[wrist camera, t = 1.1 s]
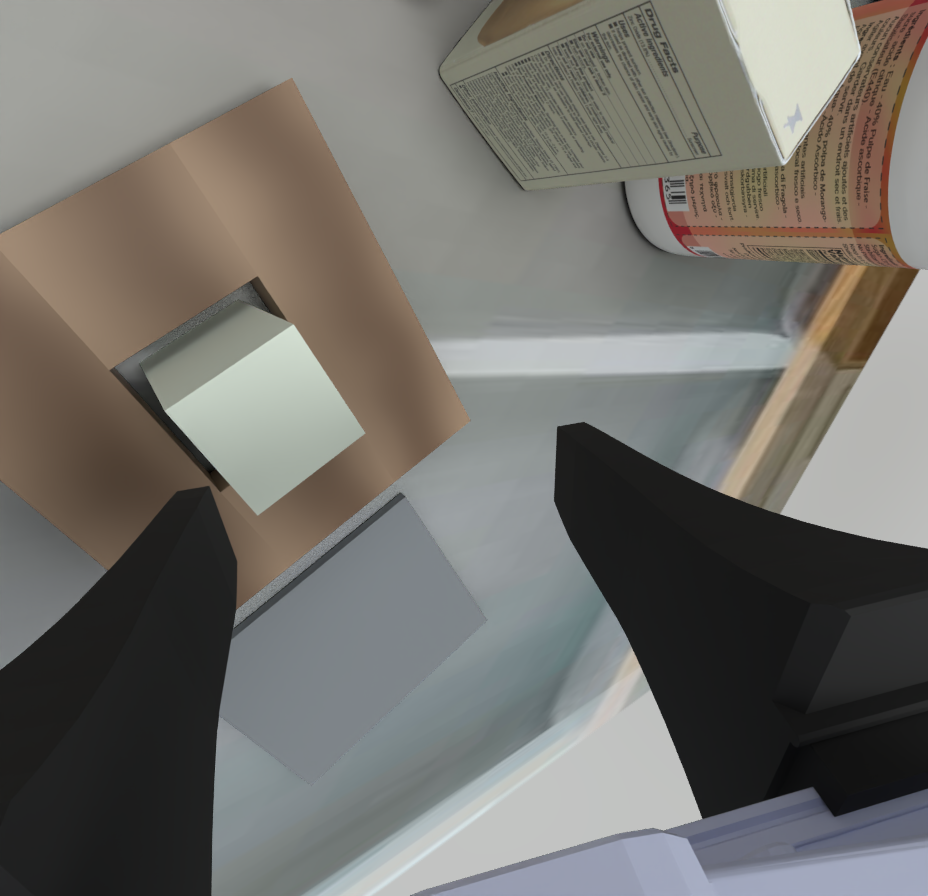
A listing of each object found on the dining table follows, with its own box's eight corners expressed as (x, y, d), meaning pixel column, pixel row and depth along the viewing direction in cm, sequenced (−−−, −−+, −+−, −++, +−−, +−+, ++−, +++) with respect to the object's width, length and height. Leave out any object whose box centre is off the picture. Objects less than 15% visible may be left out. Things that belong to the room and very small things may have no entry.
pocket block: (185, 615, 24) (194, 643, 22) (-155, 319, 16) (-179, 329, 14) (447, 409, 27) (470, 420, 26) (273, 89, 20) (292, 77, 18)
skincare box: (577, 121, 27) (870, 62, 17) (522, 195, 26) (788, 179, 17) (494, -20, 23) (813, -201, 13) (428, 65, 22) (706, -56, 13)
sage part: (213, 448, 22) (257, 515, 17) (139, 363, 20) (164, 411, 15) (299, 386, 23) (365, 433, 18) (238, 299, 21) (293, 324, 16)
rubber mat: (308, 778, 30) (311, 785, 29) (175, 676, 24) (177, 683, 24) (482, 615, 33) (487, 620, 33) (400, 492, 28) (405, 496, 27)
